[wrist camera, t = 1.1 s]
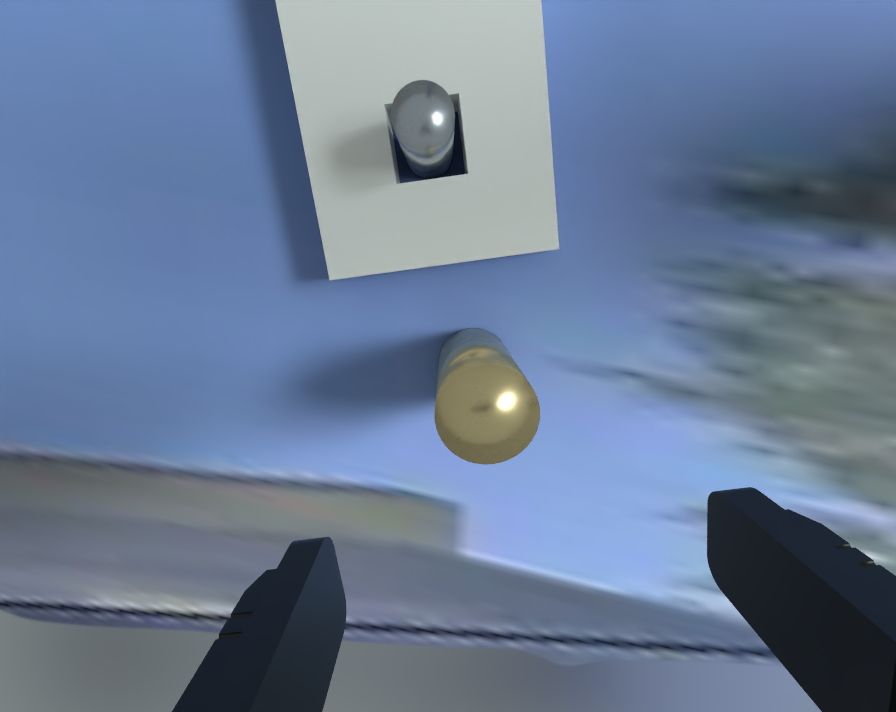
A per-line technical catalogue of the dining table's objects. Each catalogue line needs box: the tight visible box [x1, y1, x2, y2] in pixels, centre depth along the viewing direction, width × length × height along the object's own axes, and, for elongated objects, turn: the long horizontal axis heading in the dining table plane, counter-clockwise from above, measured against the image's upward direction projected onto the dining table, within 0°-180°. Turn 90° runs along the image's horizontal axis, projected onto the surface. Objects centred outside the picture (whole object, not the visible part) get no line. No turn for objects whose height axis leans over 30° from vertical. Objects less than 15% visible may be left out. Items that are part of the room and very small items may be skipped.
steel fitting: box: [391, 80, 455, 178], centre depth 20 cm, size 3×3×6 cm
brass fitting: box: [435, 328, 540, 464], centre depth 21 cm, size 4×4×9 cm
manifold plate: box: [275, 0, 559, 280], centre depth 20 cm, size 12×24×2 cm, turn 8°
